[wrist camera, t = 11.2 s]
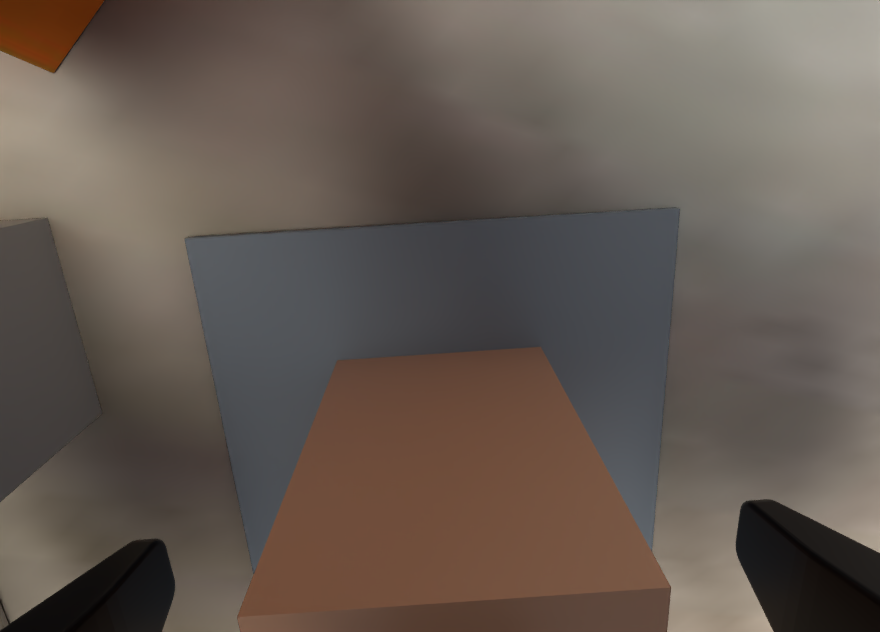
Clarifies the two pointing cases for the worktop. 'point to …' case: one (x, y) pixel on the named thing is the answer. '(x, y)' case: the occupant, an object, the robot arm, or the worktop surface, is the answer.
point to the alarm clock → (43, 28)
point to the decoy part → (37, 355)
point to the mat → (438, 327)
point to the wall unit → (2, 619)
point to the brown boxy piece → (453, 509)
